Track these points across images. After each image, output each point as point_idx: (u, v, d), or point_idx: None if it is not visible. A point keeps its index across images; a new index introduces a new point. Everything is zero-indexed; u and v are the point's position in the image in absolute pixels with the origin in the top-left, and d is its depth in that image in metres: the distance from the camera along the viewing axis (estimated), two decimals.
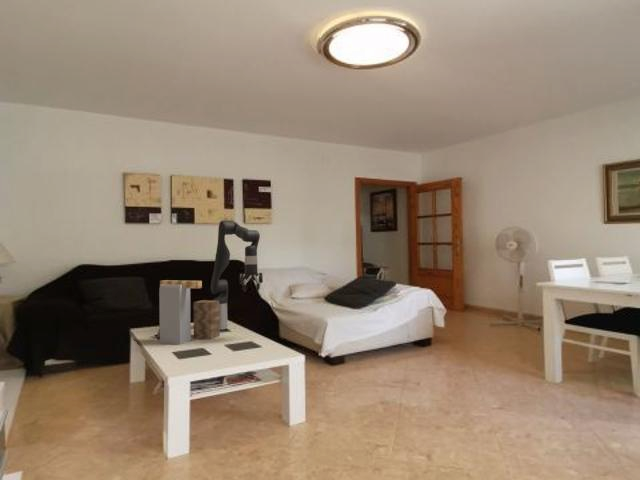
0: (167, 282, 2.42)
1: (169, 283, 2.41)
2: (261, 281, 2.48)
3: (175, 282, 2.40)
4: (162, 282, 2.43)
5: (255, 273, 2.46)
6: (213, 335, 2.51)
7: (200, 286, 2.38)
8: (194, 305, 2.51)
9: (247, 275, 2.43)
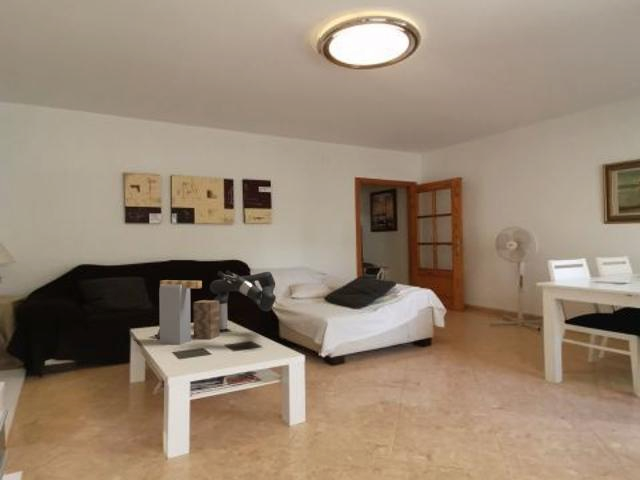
0: (167, 282, 2.42)
1: (169, 283, 2.41)
2: None
3: (175, 282, 2.40)
4: (162, 282, 2.43)
5: None
6: (213, 335, 2.51)
7: (200, 286, 2.38)
8: (194, 305, 2.51)
9: None
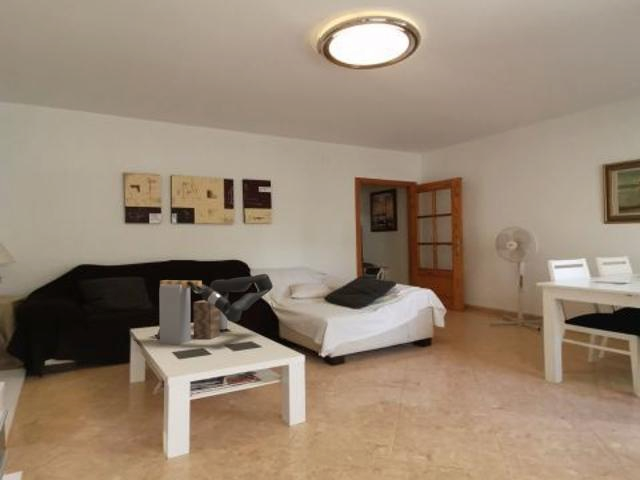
0: (167, 282, 2.42)
1: (169, 283, 2.41)
2: None
3: (175, 282, 2.40)
4: (162, 282, 2.43)
5: None
6: (213, 335, 2.51)
7: (200, 286, 2.38)
8: (194, 305, 2.51)
9: None
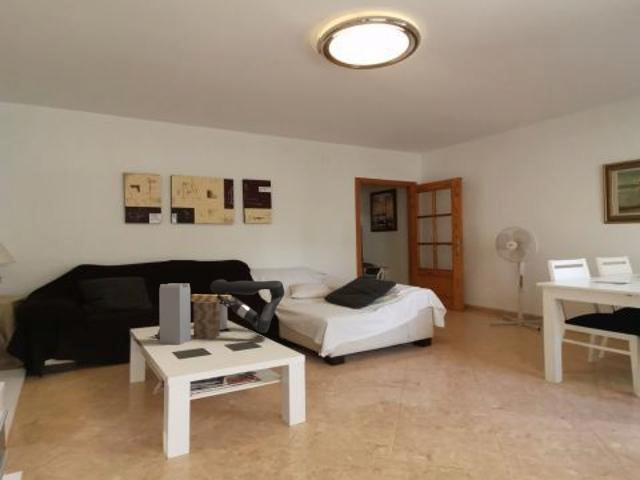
0: (198, 296, 2.54)
1: (200, 297, 2.53)
2: None
3: (206, 296, 2.52)
4: (193, 296, 2.55)
5: None
6: (213, 335, 2.51)
7: None
8: (194, 305, 2.51)
9: None
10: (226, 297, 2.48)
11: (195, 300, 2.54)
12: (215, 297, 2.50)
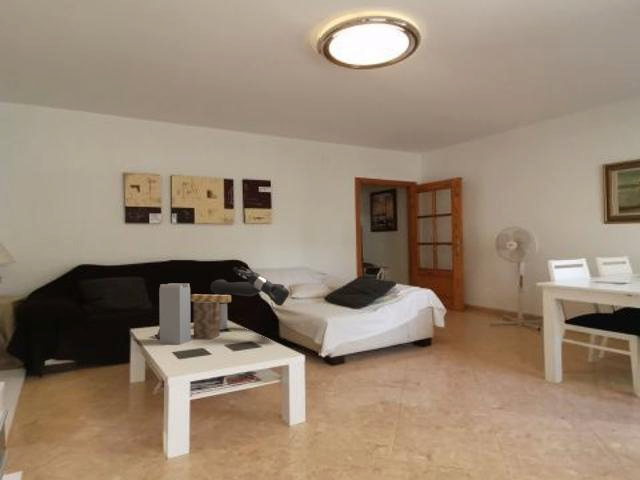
0: (198, 296, 2.54)
1: (200, 297, 2.53)
2: None
3: (206, 296, 2.52)
4: (193, 296, 2.55)
5: None
6: (213, 335, 2.51)
7: (230, 300, 2.50)
8: (194, 305, 2.51)
9: None
10: (226, 297, 2.48)
11: (195, 300, 2.54)
12: (215, 297, 2.50)
